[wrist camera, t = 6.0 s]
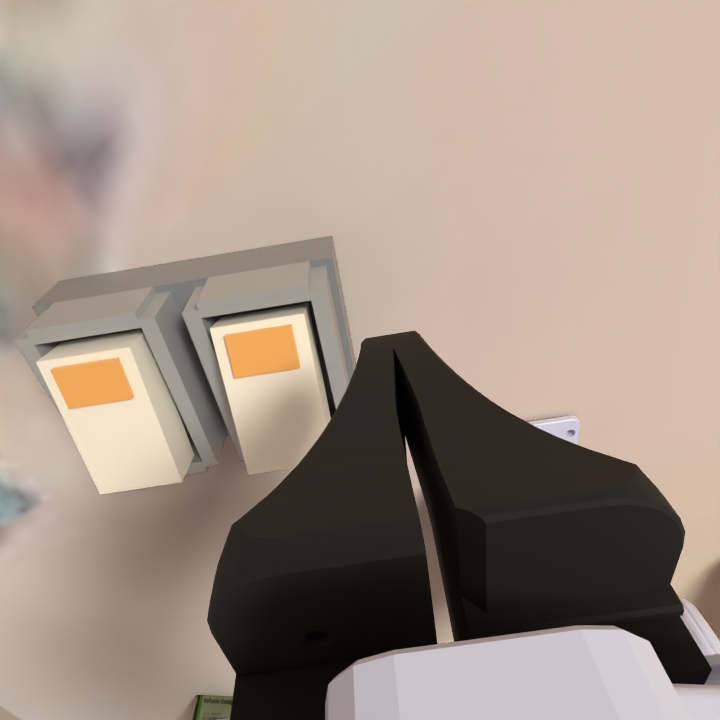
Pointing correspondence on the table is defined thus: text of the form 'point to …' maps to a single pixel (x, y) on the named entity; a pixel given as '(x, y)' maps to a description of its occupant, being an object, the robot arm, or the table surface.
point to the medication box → (211, 707)
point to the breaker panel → (201, 324)
